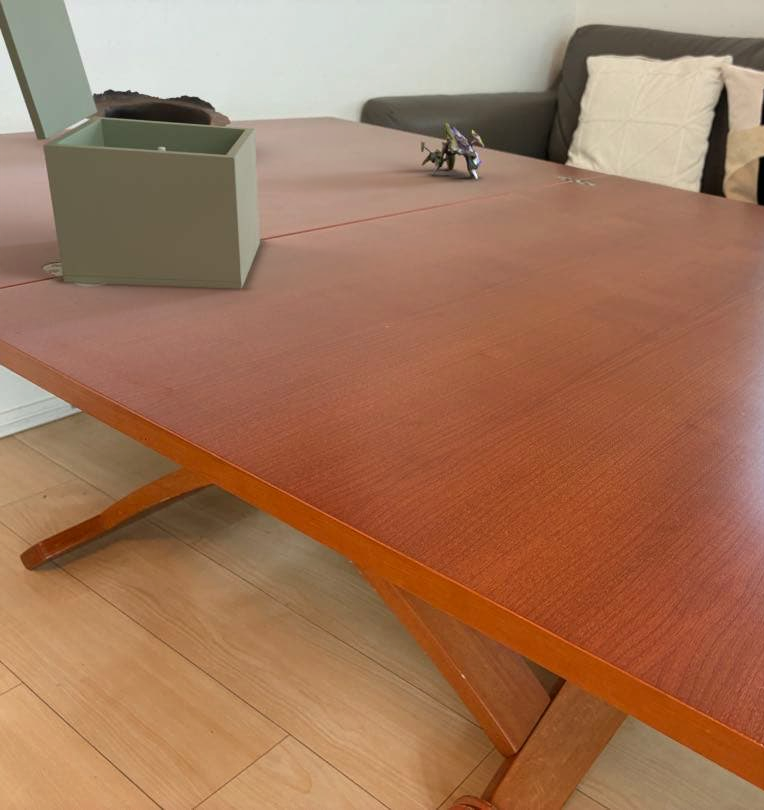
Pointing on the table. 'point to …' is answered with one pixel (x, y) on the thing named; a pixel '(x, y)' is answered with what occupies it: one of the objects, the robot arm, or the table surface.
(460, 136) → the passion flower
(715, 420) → the table surface
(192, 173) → the chest
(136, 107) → the stone bowl
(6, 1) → the chest lid
